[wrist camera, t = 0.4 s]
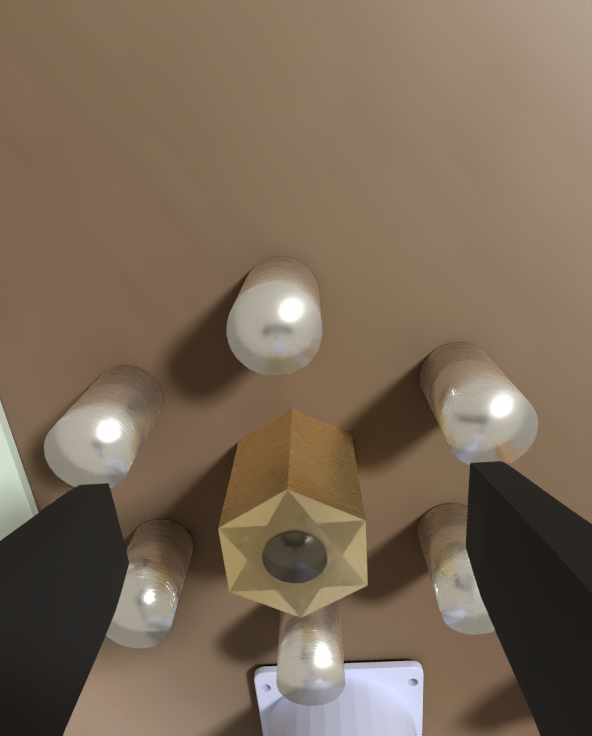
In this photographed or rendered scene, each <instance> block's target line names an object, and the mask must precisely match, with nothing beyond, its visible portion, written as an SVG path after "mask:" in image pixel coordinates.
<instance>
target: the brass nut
mask: <svg viewBox="0 0 592 736" xmlns="http://www.w3.org/2000/svg"><path fill="white" fill-rule="evenodd" d="M218 530H219V536H220V542H221V547H222V553H223V559H224V564H225V570H226V576H227V581H228V587H229V592H231V593H234V594H237V595H240V596H242V597H245V598H248V599H251V600H253V601H256V602H259V603H262V604H264V605H267V606H270V607H273V608H275V609H278V610H281V611H284V612H286V613H289V614H292V615H295V616H298V617H300V618H302V617H304V616H306V615H308V614H310V613H312V612H314V611H316V610H318V609H320V608H322V607H324V606H326V605H329V604H331V603H333V602H335V601H337V600H339V599H341V598H343V597H345V596H347V595H349V594H351V593H353V592H355V591H357V590H359V589H361V588H363V587H365V586H367V585H368V578H367V551H366V523H365V515H364V509H363V502H362V496H361V490H360V484H359V477H358V471H357V465H356V459H355V452H354V446H353V440H352V434H349V433H347V432H345V431H342V430H340V429H338V428H335V427H333V426H331V425H328V424H326V423H324V422H321V421H319V420H317V419H314V418H312V417H310V416H307V415H305V414H303V413H300V412H298V411H296V410H293V409H291V410H289V411H288V412H286V413H285V414H283V415H281V416H280V417H278V418H276V419H275V420H273V421H271V422H270V423H268V424H266V425H265V426H263V427H262V428H260V429H258V430H257V431H255V432H253V433H252V434H250V435H248V436H247V437H245V438H243V439H242V440H240V441H239V442H238V446H237V450H236V455H235V459H234V463H233V467H232V472H231V476H230V480H229V484H228V489H227V493H226V497H225V501H224V506H223V510H222V514H221V518H220V523H219V527H218Z"/></svg>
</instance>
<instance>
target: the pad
mask: <svg viewBox="0 0 592 736" xmlns="http://www.w3.org/2000/svg"><path fill="white" fill-rule="evenodd" d="M38 513H39V512H38V509H37V506H36V503H35V501H34V498H33V495H32V492H31V489H30V486H29V483H28V480H27V477H26V474H25V471H24V468H23V466H22V463H21V460H20V457H19V454H18V451H17V448H16V445H15V442H14V439H13V436H12V433H11V430H10V428H9V425H8V422H7V419H6V416H5V413H4V410H3V407H2V404H1V401H0V541H1V540H2V539H3V538H5V537H6V536H7V535H9V534H10V533H12V532H13V531H14V530H16V529H17V528H18V527H20V526H21V525H23V524H24V523H25V522H27V521H28V520H29V519H31V518H32V517H34V516H35V515H36V514H38Z"/></svg>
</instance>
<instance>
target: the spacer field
mask: <svg viewBox="0 0 592 736" xmlns="http://www.w3.org/2000/svg"><path fill="white" fill-rule="evenodd" d="M226 332H227V339H228V343H229V346H230V348H231V350H232V352H233V353H234V355H235V356H236V358H237V359H238V360H239V361H240V362H241V363H242V364H243V365H244V366H246V367H247V368H249V369H251V370H253V371H255V372H257V373H260V374H263V375H269V376H282V375H287V374H291V373H294V372H296V371H298V370H300V369H302V368H303V367H304V366H306V365H307V364H308V363H309V362H310V361H311V360H312V359H313V357H314V356H315V354H316V353H317V351H318V349H319V346H320V343H321V339H322V322H321V311H320V299H319V289H318V284H317V281H316V279H315V277H314V275H313V273H312V272H311V271H310V269H309V268H308V267H307V266H306V265H304V264H303V263H302V262H300V261H298V260H296V259H293V258H290V257H284V256H277V257H271V258H268V259H265V260H263V261H261V262H260V263H258V264H257V265H256V266H255V267H254V268H253V269H252V270H251V271H250V272H249V274H248V276H247V278H246V280H245V282H244V284H243V286H242V288H241V290H240V292H239V294H238V296H237V299H236V301H235V303H234V305H233V307H232V309H231V311H230V313H229V316H228V320H227V327H226ZM420 385H421V388H422V391H423V393H424V395H425V397H426V399H427V401H428V403H429V405H430V407H431V409H432V411H433V413H434V416H435V418H436V420H437V422H438V424H439V426H440V428H441V430H442V432H443V434H444V436H445V438H446V440H447V442H448V444H449V446H450V448H451V450H452V452H453V453H454V455H455V456H456V457H457V458H458V459H459V460H461V461H462V462H464V463H466V464H468V465H470V463H476V462H494V461H503V462H504V463H506V464H509V463H511V462H513V461H515V460H516V459H518V458H519V457H521V456H522V455H523V454H524V453H525V452H526V451H527V450H528V449H529V448H530V446H531V445H532V443H533V441H534V439H535V437H536V434H537V430H538V418H537V415H536V412H535V410H534V408H533V406H532V405H531V404H530V403H529V401H528V400H527V399H526V398H525V397H524V396H523V395H522V394H521V392H520V391H519V390H518V389H517V388H516V387H515V386H514V385H513V383H512V382H511V381H510V380H509V379H508V378H507V377H506V376H505V375H504V373H503V372H502V371H501V370H500V369H499V368H498V367H497V366H496V364H495V363H494V362H493V361H492V360H491V359H490V358H489V357H488V355H487V354H486V353H485V352H484V351H483V350H482V349H480V348H479V347H477V346H476V345H473V344H470V343H466V342H453V343H449V344H446V345H443V346H441V347H439V348H437V349H436V350H434V351H433V352H432V353H431V354H430V355H429V356H428V357H427V359H426V360H425V361H424V363H423V365H422V368H421V371H420ZM163 405H164V397H163V392H162V389H161V387H160V385H159V384H158V382H157V381H156V380H155V379H154V377H153V376H151V375H150V374H149V373H147V372H146V371H144V370H142V369H140V368H137V367H134V366H128V365H121V366H115V367H112V368H110V369H108V370H106V371H105V372H104V373H102V375H101V376H100V377H99V378H98V379H97V380H96V381H95V382H94V383H93V384H92V385H91V386H90V388H89V389H88V390H87V391H86V392H85V393H84V394H83V395H82V396H81V397H80V398H79V399H78V401H77V402H76V403H75V404H74V405H73V406H72V407H71V408H70V409H69V410H68V411H67V412H66V414H65V415H64V416H63V417H62V418H61V419H60V420H59V421H58V422H57V423H56V424H55V425H54V427H53V428H52V429H51V430H50V431H49V433H48V434H47V436H46V439H45V442H44V454H45V458H46V461H47V463H48V465H49V467H50V468H51V469H52V471H53V472H54V473H55V474H56V475H57V476H58V477H59V478H60V479H61V480H63V481H64V482H66V483H67V484H69V485H71V486H73V487H77V486H78V485H86V484H103V483H109V486H110V488H111V487H113V486H115V485H117V484H118V483H120V482H121V481H122V480H123V479H124V477H125V476H126V474H127V472H128V471H129V469H130V467H131V465H132V463H133V462H134V460H135V458H136V456H137V455H138V453H139V451H140V449H141V447H142V446H143V444H144V442H145V440H146V438H147V437H148V435H149V433H150V431H151V430H152V428H153V426H154V424H155V422H156V421H157V419H158V417H159V415H160V413H161V411H162V409H163ZM467 511H468V507H467V506H465V505H462V504H457V503H448V504H442V505H439V506H436V507H434V508H432V509H431V510H429V511H428V512H427V513H426V514H425V515H424V516H423V517H422V518H421V520H420V522H419V525H418V536H419V540H420V543H421V547H422V550H423V554H424V557H425V560H426V564H427V567H428V571H429V574H430V578H431V581H432V584H433V588H434V591H435V595H436V598H437V602H438V605H439V608H440V612H441V615H442V618H443V620H444V621H445V623H446V624H447V625H448V626H449V627H451V628H452V629H454V630H456V631H458V632H461V633H465V634H485V633H489V632H492V631H495V629H494V626H493V624H492V622H491V619H490V617H489V615H488V613H487V610H486V608H485V606H484V603H483V601H482V598H481V596H480V593H479V590H478V587H477V584H476V580H475V577H474V574H473V571H472V567H471V564H470V560H469V557H468V553H467V550H466V528H467ZM126 551H127V555H128V559H129V566H128V570H127V573H126V577H125V581H124V585H123V588H122V592H121V595H120V598H119V602H118V605H117V608H116V612H115V614H114V616H113V619H112V621H111V624H110V626H109V629H108V631H107V633H106V636H107V637H108V638H109V639H111V640H112V641H114V642H115V643H117V644H120V645H122V646H126V647H130V648H149V647H153V646H155V645H158V644H159V643H161V642H162V641H164V640H165V639H166V638H167V636H168V635H169V632H170V629H171V626H172V622H173V619H174V615H175V612H176V608H177V604H178V601H179V597H180V594H181V590H182V587H183V583H184V580H185V576H186V573H187V569H188V566H189V562H190V559H191V555H192V552H193V540H192V537H191V535H190V534H189V532H188V531H187V530H186V529H185V528H184V527H182V526H181V525H179V524H178V523H175V522H173V521H170V520H165V519H154V520H150V521H147V522H145V523H143V524H141V525H140V526H139V527H138V528H137V529H136V531H135V533H134V535H133V537H132V539H131V541H130V544H129V546H128V548H127V550H126ZM276 685H277V688H278V690H279V692H280V693H281V694H282V696H284V697H285V698H286V699H288V700H289V701H291V702H294V703H296V704H300V705H305V706H317V705H323V704H326V703H329V702H331V701H333V700H335V699H336V698H337V697H339V696H340V694H341V693H342V692H343V690H344V687H345V672H344V659H343V645H342V631H341V618H340V604H339V600H337V601H335V602H333V603H331V604H329V605H326V606H324V607H322V608H320V609H318V610H316V611H314V612H312V613H310V614H308V615H306V616H304V617H302V618H300V617H298V616H295V615H292V614H289V613H286V612H284V611H281V610H280V625H279V643H278V660H277V678H276Z"/></svg>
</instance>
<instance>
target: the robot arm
mask: <svg viewBox="0 0 592 736" xmlns="http://www.w3.org/2000/svg"><path fill="white" fill-rule="evenodd" d="M466 550H467V553H468V557H469V560H470V564H471V567H472V571H473V574H474V577H475V580H476V584H477V587H478V590H479V593H480V596H481V598H482V601H483V603H484V606H485V608H486V610H487V613H488V615H489V617H490V619H491V622H492V624H493V626H494V629H495V631H496V633H497V636H498V638H499V640H500V642H501V645H502V647H503V649H504V652H505V654H506V656H507V658H508V661H509V663H510V665H511V667H512V670H513V672H514V674H515V676H516V679H517V681H518V683H519V686H520V688H521V690H522V692H523V695H524V697H525V699H526V701H527V704H528V706H529V708H530V710H531V713H532V715H533V718H534V720H535V723H536V725H537V728H538V730H539V733H540V735H541V736H592V524H591V523H589V522H588V521H586V520H585V519H583V518H582V517H580V516H579V515H578V514H576V513H575V512H573V511H572V510H570V509H569V508H568V507H566V506H565V505H563V504H562V503H561V502H559V501H558V500H556V499H555V498H554V497H552V496H551V495H549V494H548V493H547V492H545V491H544V490H542V489H541V488H540V487H538V486H537V485H536V484H534V483H533V482H531V481H530V480H529V479H527V478H526V477H525V476H523V475H522V474H520V473H519V472H518V471H516V470H515V469H513V468H512V467H510V466H509V465H507V464H506V463H504V462H503V461H494V462H476V463H470V477H469V494H468V511H467V528H466ZM128 566H129V559H128V555H127V551H126V548H125V544H124V540H123V536H122V532H121V528H120V525H119V521H118V517H117V513H116V509H115V505H114V502H113V498H112V494H111V490H110V486H109V483H103V484H86V485H78V486H77V487H75V488H73V489H72V490H70V491H69V492H67V493H66V494H64V495H63V496H61V497H60V498H58V499H57V500H56V501H54V502H53V503H51V504H50V505H49V506H47V507H46V508H44V509H43V510H42V511H40V512H39V513H38V514H36V515H35V516H34V517H32V518H31V519H29V520H28V521H27V522H25V523H24V524H23V525H21V526H20V527H18V528H17V529H16V530H14V531H13V532H12V533H10V534H9V535H7V536H6V537H5V538H3V539H2V540H1V541H0V736H63V733H64V731H65V728H66V726H67V724H68V721H69V719H70V717H71V715H72V712H73V710H74V708H75V705H76V703H77V701H78V698H79V696H80V694H81V691H82V689H83V687H84V684H85V682H86V680H87V678H88V675H89V673H90V671H91V668H92V666H93V664H94V661H95V659H96V657H97V654H98V652H99V650H100V647H101V645H102V643H103V640H104V638H105V636H106V633H107V631H108V629H109V626H110V624H111V621H112V619H113V616H114V614H115V612H116V608H117V605H118V602H119V598H120V595H121V592H122V588H123V585H124V581H125V577H126V573H127V570H128ZM344 672H345V687H344V690H343V692H342V693H341V694H340V696H339V697H337V698H336V699H335V700H333V701H331V702H329V703H326V704H323V705H317V706H305V705H300V704H296V703H294V702H291V701H289V700H288V699H286V698H285V697H284V696H282V694H281V693H280V692H279V690H278V688H277V685H276V678H277V666H264V667H260V668H258V669H257V670H256V671H255V675H254V683H255V689H256V695H257V701H258V707H259V713H260V719H261V725H262V731H263V736H422V713H423V670H422V666H421V664H420V663H418V662H416V661H390V662H365V663H344Z"/></svg>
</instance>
